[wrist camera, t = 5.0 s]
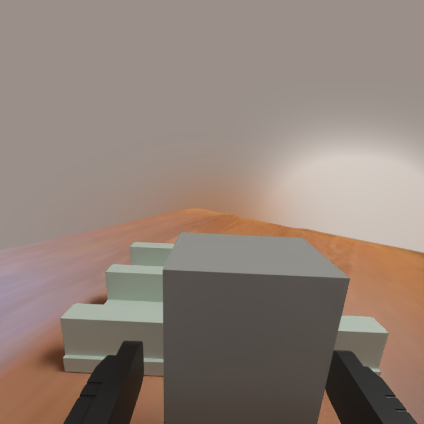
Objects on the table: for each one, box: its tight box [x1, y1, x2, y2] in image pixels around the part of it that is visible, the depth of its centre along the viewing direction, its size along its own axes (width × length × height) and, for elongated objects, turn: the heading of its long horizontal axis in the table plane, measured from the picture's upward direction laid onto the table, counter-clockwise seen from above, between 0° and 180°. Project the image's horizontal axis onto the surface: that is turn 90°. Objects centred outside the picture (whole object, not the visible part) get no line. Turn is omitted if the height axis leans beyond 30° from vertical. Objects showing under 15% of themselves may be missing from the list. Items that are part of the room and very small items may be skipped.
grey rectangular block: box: [163, 232, 350, 424], centre depth 8 cm, size 5×3×12 cm, turn 90°
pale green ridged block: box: [60, 242, 389, 377], centre depth 21 cm, size 22×14×4 cm, turn 90°
